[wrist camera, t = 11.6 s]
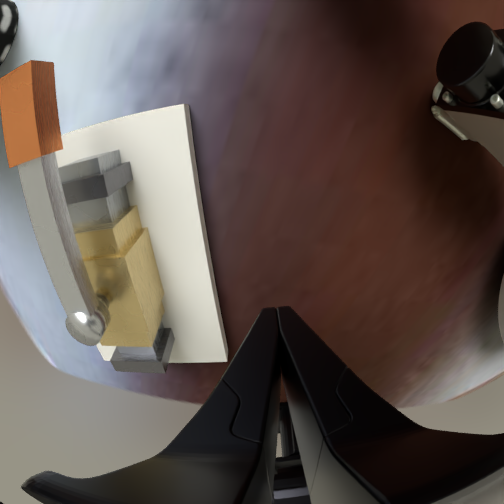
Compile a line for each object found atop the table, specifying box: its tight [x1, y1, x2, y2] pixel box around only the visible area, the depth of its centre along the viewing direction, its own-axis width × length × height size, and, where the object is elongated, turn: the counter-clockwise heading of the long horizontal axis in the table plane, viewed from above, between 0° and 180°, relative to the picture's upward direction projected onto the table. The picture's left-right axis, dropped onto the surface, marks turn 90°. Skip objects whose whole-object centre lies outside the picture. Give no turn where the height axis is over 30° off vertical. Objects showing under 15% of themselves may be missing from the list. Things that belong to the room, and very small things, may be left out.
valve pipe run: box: [58, 149, 175, 373], centre depth 18 cm, size 16×5×4 cm, turn 5°
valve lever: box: [0, 60, 111, 346], centre depth 12 cm, size 14×2×3 cm, turn 5°
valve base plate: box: [55, 104, 228, 363], centre depth 21 cm, size 20×12×2 cm, turn 5°
